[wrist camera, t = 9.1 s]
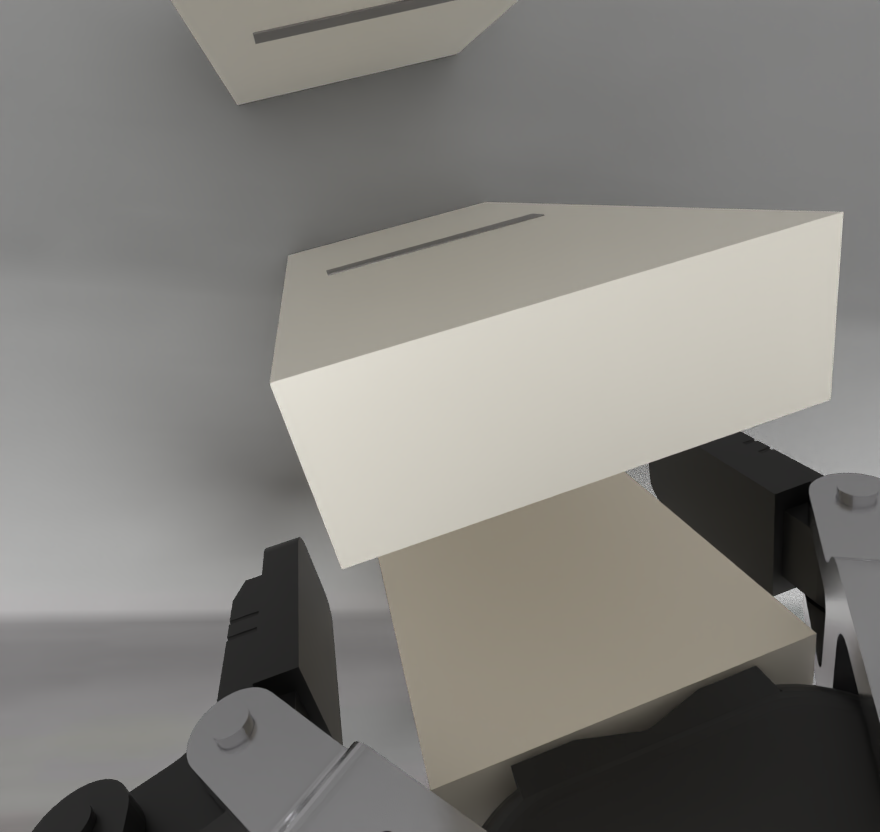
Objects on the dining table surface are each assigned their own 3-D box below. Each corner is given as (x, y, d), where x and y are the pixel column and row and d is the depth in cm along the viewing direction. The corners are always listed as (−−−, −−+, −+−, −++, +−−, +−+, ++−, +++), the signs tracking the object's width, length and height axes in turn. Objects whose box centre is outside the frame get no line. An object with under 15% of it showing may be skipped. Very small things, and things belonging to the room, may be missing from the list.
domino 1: (485, 201, 14) (843, 209, 5) (498, 274, 15) (830, 401, 5) (288, 254, 13) (267, 380, 4) (312, 327, 14) (342, 570, 5)
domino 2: (519, 382, 16) (816, 632, 7) (530, 438, 17) (809, 729, 8) (350, 436, 15) (430, 789, 6) (369, 491, 16) (464, 877, 7)
